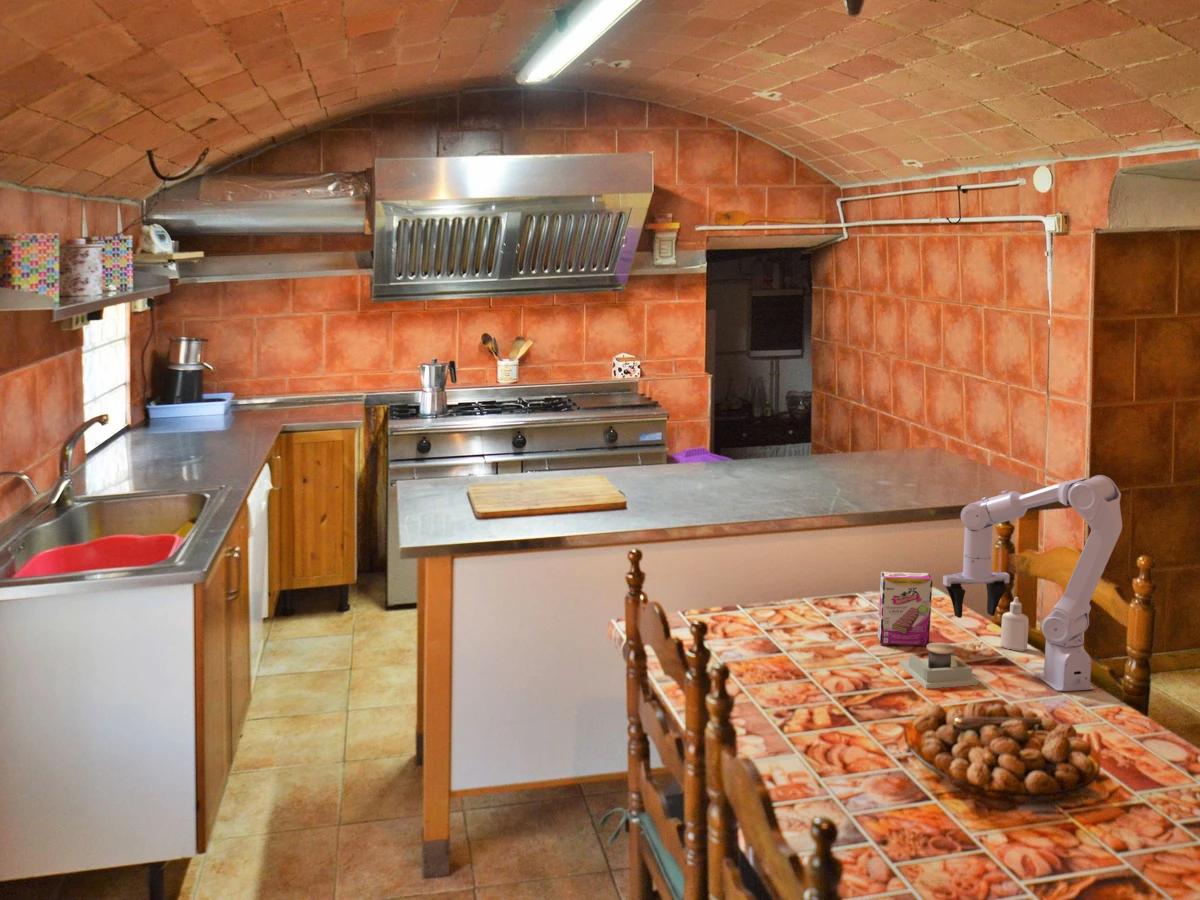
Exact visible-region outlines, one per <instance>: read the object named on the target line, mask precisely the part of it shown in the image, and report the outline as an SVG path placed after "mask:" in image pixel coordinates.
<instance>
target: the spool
mask: <svg viewBox="0 0 1200 900" xmlns="http://www.w3.org/2000/svg"><path fill="white" fill-rule="evenodd" d="M925 648H926V651H928V658H927V659H928V667H929V668H930V669H933V668H948V667H951V653H952V652H954V650H955V647H954V646H953V645H951V644H949V643H945V642H929V644H927V646H925Z"/></svg>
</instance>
